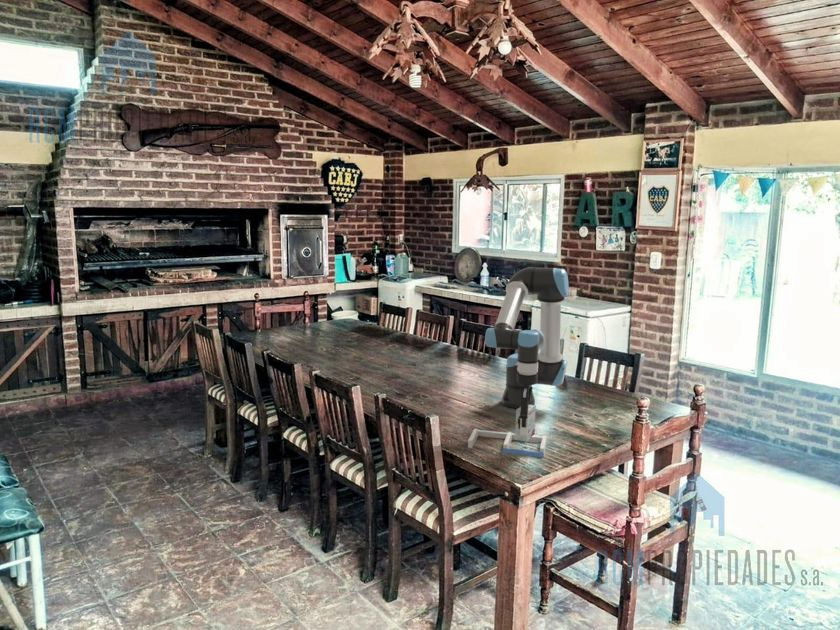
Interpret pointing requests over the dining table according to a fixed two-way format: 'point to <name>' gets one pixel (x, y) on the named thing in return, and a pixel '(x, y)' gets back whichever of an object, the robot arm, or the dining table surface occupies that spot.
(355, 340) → the dining table surface
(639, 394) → the dining table surface
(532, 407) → the ink box
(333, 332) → the dining table surface
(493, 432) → the white and blue frame
